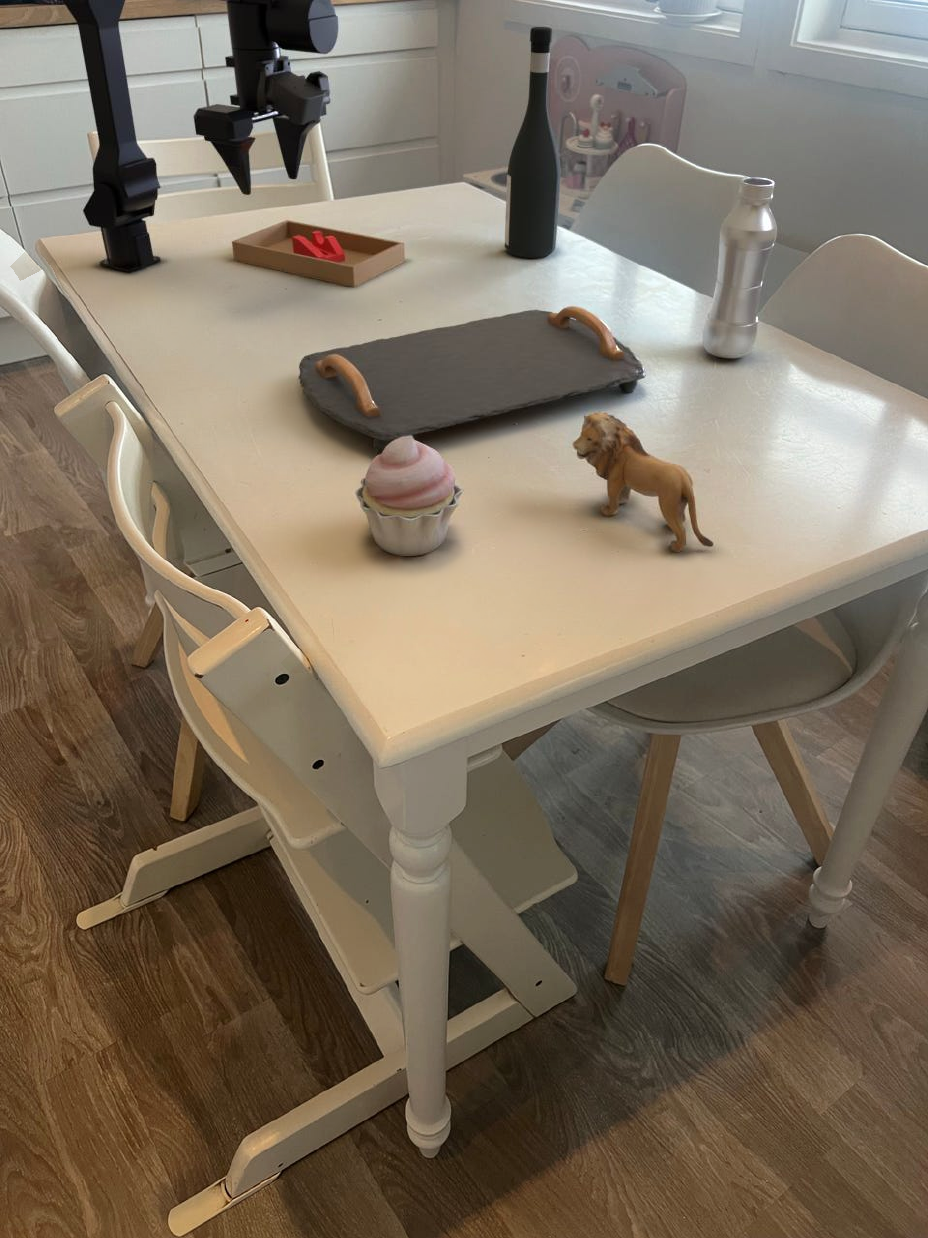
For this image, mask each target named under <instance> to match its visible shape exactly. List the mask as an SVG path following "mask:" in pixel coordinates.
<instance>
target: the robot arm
mask: <svg viewBox="0 0 928 1238" xmlns="http://www.w3.org/2000/svg"><path fill="white" fill-rule="evenodd" d="M61 1H62V3H63V4H64V6H65V7H66V9H67V10H68V11H69V13H70V14H71V16H72V17H73V19H74V20H75V21H76V23H77V28H78V33H79V38H80V45H81V49H82V56H83V61H84V67H85V72H86V77H87V84H88V88H89V94H90V99H91V105H92V110H93V116H94V122H95V127H96V131H97V138H98V145H99V146H98V149H97V152H96V156H95V158H94V162H93V165H92V182H93V184H92V185H93V192H92V193H91V195H90V197H89V199H87V202H86V204H85V206H84V208H83V209H82V212H83V214H84V217H85V219H86V221H87V224H88V225H89V226H91V227H96V228H100V232H101V237H102V242H103V246H104V251H105V256H106V258H105V259H102V260H100V261H99V266H101V267H105V268H111V269H113V270H117V271H122V272H126V273H133V272H136V271H139V270H142V269H144V268H147V267H149V266H151V265H154V264H157V263H160V262H161V261H162V259H161V257H160V256H157V255H154V253H153V252H154V251H153V247H152V242H151V235H150V233H149V231H148V227H147V221H146V220H144V219H146V218H149V217H154V216H155V208H156V201H157V200H158V197H159V189H161V185H160V182H159V178H158V173H157V169H158V168H157V162H156V159H155V158H154V157H147V155H146V154H145V153H144V151H143V150H142V148H141V147H140V146H139V144H138V141H137V140H138V139H137V135H136V127H135V122H134V116H133V109H132V102H131V95H130V90H129V83H128V76H127V71H126V64H125V58H124V51H123V45H122V39H121V32H120V19H121V17H122V12H123V9H124V6H125V3H126V0H61ZM219 1H222V2H225V4H226V12H227V20H228V28H229V29H228V30H229V37H230V45H231V55H227V56H224V59H225V60H224V61H225V66H226V67H228V68H233V71H234V82H235V89H236V93H235V94H231V95H229V100H230V105H226V104H219V103H215V104H212V105H211V104H210V105H207V106H203V107H198V108H197V110H196V111H195V113H194V115H193V121H194V122H193V123H194V130H195V135H197V136H202V137H203V140H204V141H205V142H210V143H211V145H212V146H213V148H214V149H215V151H216V152H217V154H218V155H219V157H220V158H221V159H222V161H223V163H224V164H225V166H226V167H227V170H228V171H229V173H230V175H231V176H232V178H233V180H234V181H235V183H236V185H237V186H238V188H239V190H240V192H241V193H242V194H243V195H245V196H250V195H251V194H252V177H251V162H250V149H251V148H252V147H253V145H254V143H255V141H256V137H253V136H251V135H252V132H253V129H254V124H257V123H259V122H264V121H268V120H271V119H272V122H273V126H274V130H275V134H276V137H277V141H278V145H279V149H280V153H281V157H282V160H283V165H284V168H285V171H286V174H287V177H288V179H290V180H297V179H298V175H299V171H300V165H301V161H302V157H303V153H304V148H305V144H306V140H307V136H308V134H309V133H310V132H311V130H313V129H314V127H316V126H317V125H319V124H320V123H321V120H322V119H321V117H323V116H327V105H330V104H331V97H330V94H331V90H330V82H329V76H328V75H327V74H325V73H324V72H322V71H320V70H318V71H317V70H316V71H313V72H310V73H308V74H307V76H305V75H304V74H303V75H302V74H301V75H297V74H296V73H294V72H293V70H292V61H291V60H290V59H289V58H290V57H289V56H288V55H282V52H281V50H284V51H290V52H301V53H302V52H303V53H309V54H311V53H312V54H320V55H327V54H329V53H331V52H332V51H333V49H334V47H335V46H336V44H337V40H338V36H339V27H340V26H339V25H340V24H339V23H340V22H339V16H338V15H337V13H336V9H335V6H334V4H333V2H332V1H331V0H219Z"/></svg>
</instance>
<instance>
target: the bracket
mask: <svg viewBox="0 0 928 1238" xmlns="http://www.w3.org/2000/svg"><path fill="white" fill-rule="evenodd" d="M311 234H312V243H311V242H310V241H309V240H307V239H306V238H305V237H302V236H300V235H298V236H294V237H292V242H293V252H294V253H295V254H300V255H304V256H309V257H314V258H319V259H323V260H328V261H333V262H338V263H339V262H343V261H345V253H344V252H343V250H342V248H341V247H340V245H339V243H338V242H337V240H336V238H335V237H334V236H327V237H324V238H323V236H322V232H320V231H315V232H311Z"/></svg>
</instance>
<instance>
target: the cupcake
mask: <svg viewBox="0 0 928 1238" xmlns="http://www.w3.org/2000/svg"><path fill="white" fill-rule="evenodd" d="M360 484H361V487H359V488H357V489H356V491H355V492H354V494H355V496H356V498H357V500H358V502H359V504H360V505H359V506H360V508H361V510H362V511H363V513H364V514H365V515H366V518H367V521H368V525H369V529H370V530H371V533H372V537H373V540H374V541H375V543H376V545H378V547H380V549H382V550H383V551H385V552H387V553H389V554H392V555H397V556H401V557H415V556H423V555H426V554H429V553H431V552H433V551H435V550H437V549H438V548H439V547H440V546H441V545H442V544H443V542H444V541H445V539H446V537H447V534H448V530H449V525H450V520H451V517H452V515H453V513H454V512H455V510H456V509H457V507H458V506H459V499H460V497H461V495H462V494H463V492H464V490H465V489H464V488H463V487H461V486H460V485H457V484H456V475H455V471H454V470H453V468H452V467H451V466H450V464H448V463H447V462H446V461H445V460H444V459H443V458H442V456H441V454H440V453H439V452H438V451H437V450H436V449H434V448H433V447H431V446H428V445H427V444H424V443H422V442H420V441H417V440H415V439H414V436H413V435H411V436H405V437H404V436H403V437H401V438H398V439H395V440H394V441H392V442H391V443H389V444H388V445H387V446H386V447H385V449H384V450H383V452H382V454H378V455H376V456H375V457H374V458H373V460H372V461H371V463H370V464H369V467H367V471H366V473H365V476H364V478H361V480H360Z"/></svg>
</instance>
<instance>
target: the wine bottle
mask: <svg viewBox="0 0 928 1238" xmlns="http://www.w3.org/2000/svg"><path fill="white" fill-rule="evenodd" d="M529 42H530V57H529V58H530V60H529V61H530V63H529V85H528V99H527V107H526V110H525V115H524V117H523V120H522V123H521V126H520V129H519V131H518V134H517V136H516V138H515V141H514V144H513V146H512V149H511V152H510V156H509V161H508V167H507V171H506V196H505V225H504V248H505V249H506V251H507V252H508V253H509V254H511V255H513V256H515V257H519V258H523V259H538V258H544V257H547V256H549V255H551V254H552V253H553V252H554V251H555V249H556V247H557V246H556V245H557V235H558V233H557V232H558V218H559V203H560V189H561V176H562V173H561V159H560V153H559V148H558V145H557V144H558V143H557V142H556V138H555V134H554V131H553V128H552V124H551V119H550V115H549V114H550V113H549V106H548V89H549V71H550V68H549V67H550V58H551V56H550V55H551V45H552V44H551V43H553V28H552V27H548V26H533V27H531V28H530V32H529Z"/></svg>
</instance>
